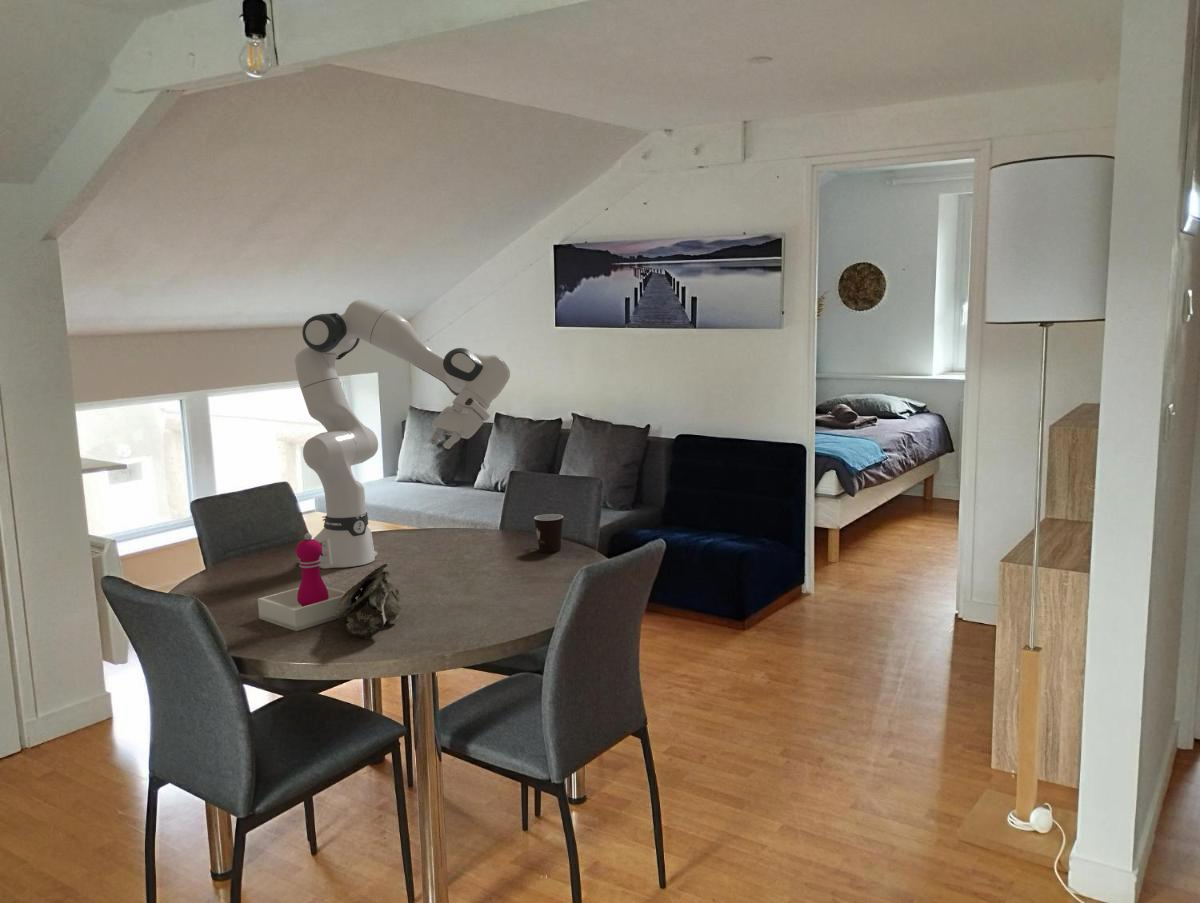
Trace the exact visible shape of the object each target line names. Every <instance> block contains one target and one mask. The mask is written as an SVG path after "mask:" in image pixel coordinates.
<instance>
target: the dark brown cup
mask: <svg viewBox="0 0 1200 903" xmlns="http://www.w3.org/2000/svg"><path fill="white" fill-rule="evenodd" d="M533 518H534V519H533V521H534V525H535V532H536V538H537V543H538V550H539V552H540V553H544V554H545V553H548V554H552V553H557V552H560V551H561V549H562V538H563V537H562V536H563V524H564V515H562V514H559V513H558V514H557V513H556V514H555V513H547V514H540V515H535V516H534V517H533Z"/></svg>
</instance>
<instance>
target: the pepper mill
mask: <svg viewBox="0 0 1200 903" xmlns="http://www.w3.org/2000/svg"><path fill="white" fill-rule="evenodd" d="M303 538H304V539H303V540H302V541H299V543H298V544H297V545H296V548H295V553H296V557H297V558H299V561H298V563H299V565H298V566H299V568H301V581H300V584H299V587H298V588H299V590H298V594H297V601H298V603H299V604H300V605H301V606H302V607H303V606H307V605H310V604H314V603H317V602H321V601H324V600H328V598H329V595H328V591H327V588H326V584H325V582H324V580H323V578H322V576H321V571H320V570H321V568H320V565H321V559H320V558H319V557H320V555H321V554H322V546H321V544H320V543H319V542H318V541H317V540H314V538H313V535H312V534H311V533H309V532H307V533H305V534H304V537H303ZM312 538H313V539H312Z"/></svg>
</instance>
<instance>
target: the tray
mask: <svg viewBox="0 0 1200 903" xmlns="http://www.w3.org/2000/svg"><path fill="white" fill-rule="evenodd" d="M325 586H326V585H325ZM326 588H327V591H328V595H329V598H328V600H324V601H321V602H317V603H314V604H310V605H307V606H303V607H302V606H301V605H300V604H299V603H298V601H297V594H298V590H299V587H296V588H292V589H288V590H284V591H281V592H278V593H277V592H276V593H274V594H270V595H266V596H263V597H259V598H257V606H258V616H259V617H258V618H259V620H262V621H264V622H268V623H271V624H273V625H277V626H280V627H283V628H285V629H289V630H291V631H294V632H299V631H301V630H305V629H308V628H312V627H315V626H318V625H321V624H324V623H327V622H332V621H334V620H338V619H342V618H344V617H345V618H346V615H347V614H345V615H344V616H343V617H342V618H341V617H340V618H338V617H334V614H335V613H336V612H337V609H338V607H339V604H338V603H339V602H340V600H341V599H342V596H344V594H345V593H346V592H347V591H344V590H342V589H337V588H335V587H330V586H326Z"/></svg>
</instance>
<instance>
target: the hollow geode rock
mask: <svg viewBox="0 0 1200 903" xmlns="http://www.w3.org/2000/svg"><path fill="white" fill-rule="evenodd" d="M388 566H389V563H384V564H383V565H381V566H379V567H378V568H375V569H374V570H373V571H371V572H370V573H369V574H367V575H366V576H364V578H362V579H361V580H360V581H359V582H357V584H355V585H353V586H352V587H351V588H349V589H348V590H347V591H345V592H346V593H345V594H344V596H342V599H341V600H340V602H339V603H338V604H339V607H338V609H337V612H336V613H335V614H334V617H338V619H342V618H344V617H343V616H344V615H345V614H347V615H346V616H345V618H344V626H345V628H346V630H347V632H348V633H349V634H350V635H354V636H356V637H360V638H362V639H363V640H364V639H365V640H368V639H371V638H373V637H374V636H375V635H377V633H379V632H380V631H382V630H384V625H385V624H386V622H388V621H395V620H397V619H399V617H400V611H401V609H402V608H401V602H402V600H403V596H402V594H401V593H402V592H401V591H400V590H399V588H397V587H395V586H394V584H392V583H391V580H392V576H391V574H390V572H388V571H386V570H385V568H387V567H388ZM340 617H341V618H340Z"/></svg>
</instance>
